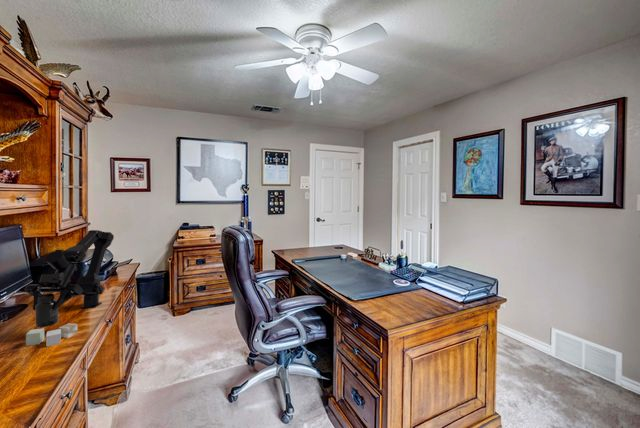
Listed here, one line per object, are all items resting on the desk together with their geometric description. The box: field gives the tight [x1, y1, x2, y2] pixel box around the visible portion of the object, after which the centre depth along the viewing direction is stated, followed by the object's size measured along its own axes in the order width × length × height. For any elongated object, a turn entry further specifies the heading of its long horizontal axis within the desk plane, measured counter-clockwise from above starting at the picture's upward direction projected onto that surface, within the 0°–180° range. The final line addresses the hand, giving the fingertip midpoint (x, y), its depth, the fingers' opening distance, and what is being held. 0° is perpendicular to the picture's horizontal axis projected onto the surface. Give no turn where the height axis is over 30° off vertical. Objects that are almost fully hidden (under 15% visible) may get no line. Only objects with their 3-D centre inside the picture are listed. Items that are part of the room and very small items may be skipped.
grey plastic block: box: [45, 328, 62, 347], centre depth 113 cm, size 5×4×4 cm
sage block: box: [25, 327, 45, 347], centre depth 112 cm, size 4×4×4 cm
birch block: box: [58, 322, 78, 339], centre depth 119 cm, size 4×4×4 cm
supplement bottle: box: [34, 293, 59, 328], centre depth 120 cm, size 7×7×12 cm
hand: (44, 309), depth 118 cm, fingers closed on supplement bottle, 7 cm apart
